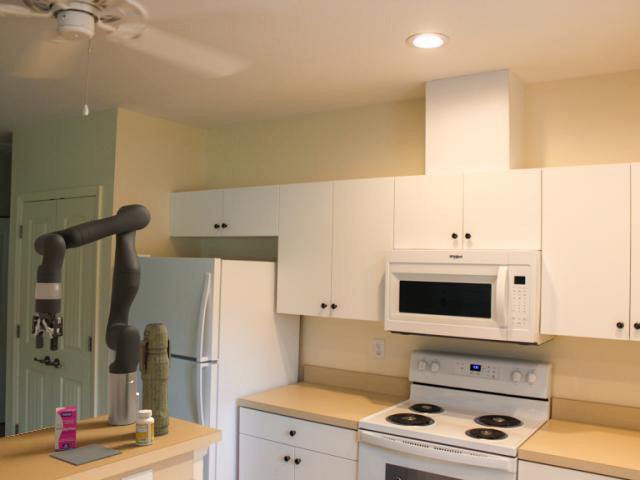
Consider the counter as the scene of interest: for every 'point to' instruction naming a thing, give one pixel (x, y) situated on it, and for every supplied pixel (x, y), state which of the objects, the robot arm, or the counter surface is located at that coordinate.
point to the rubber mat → (85, 454)
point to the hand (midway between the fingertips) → (46, 349)
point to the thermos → (155, 374)
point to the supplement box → (65, 428)
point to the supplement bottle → (144, 428)
